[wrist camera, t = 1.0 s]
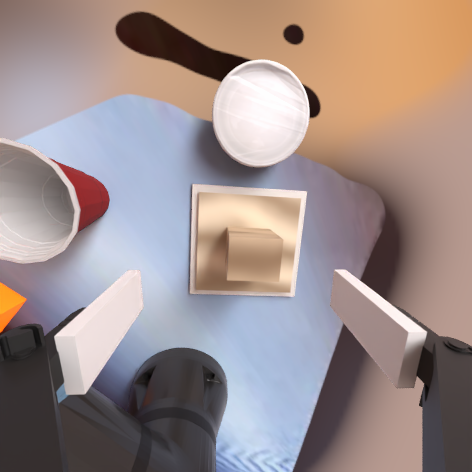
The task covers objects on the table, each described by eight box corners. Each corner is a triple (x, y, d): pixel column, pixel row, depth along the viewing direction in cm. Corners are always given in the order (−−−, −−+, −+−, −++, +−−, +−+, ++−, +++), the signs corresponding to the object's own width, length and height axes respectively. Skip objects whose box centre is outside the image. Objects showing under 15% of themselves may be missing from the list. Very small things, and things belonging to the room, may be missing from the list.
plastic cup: (47, 235, 32) (-54, 262, 20) (42, 153, 29) (-75, 129, 18) (129, 241, 32) (78, 270, 21) (129, 162, 30) (73, 145, 19)
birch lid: (288, 290, 35) (307, 318, 27) (196, 287, 34) (190, 315, 26) (299, 198, 32) (323, 200, 25) (199, 191, 31) (193, 192, 24)
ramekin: (290, 74, 30) (305, 51, 25) (299, 163, 32) (315, 158, 27) (205, 88, 29) (202, 66, 24) (221, 176, 32) (221, 173, 27)
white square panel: (292, 294, 36) (294, 296, 35) (190, 292, 35) (189, 293, 34) (305, 191, 33) (307, 191, 32) (193, 184, 32) (192, 183, 31)
